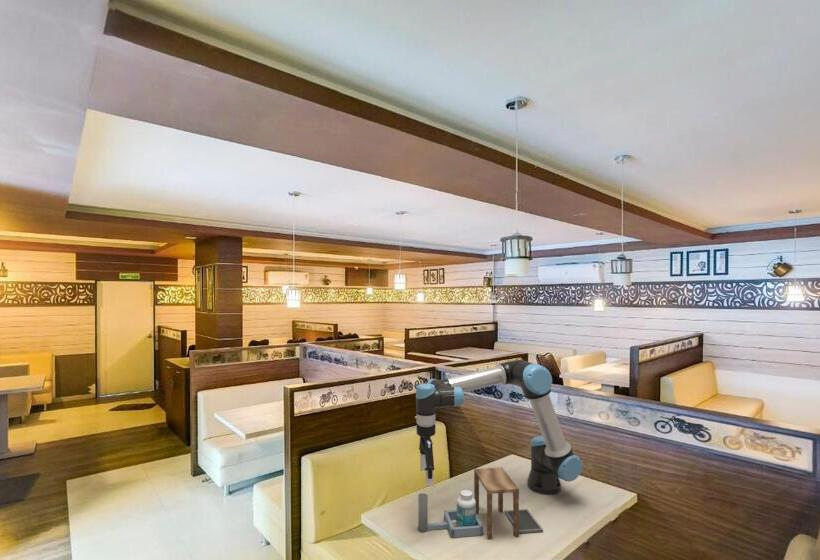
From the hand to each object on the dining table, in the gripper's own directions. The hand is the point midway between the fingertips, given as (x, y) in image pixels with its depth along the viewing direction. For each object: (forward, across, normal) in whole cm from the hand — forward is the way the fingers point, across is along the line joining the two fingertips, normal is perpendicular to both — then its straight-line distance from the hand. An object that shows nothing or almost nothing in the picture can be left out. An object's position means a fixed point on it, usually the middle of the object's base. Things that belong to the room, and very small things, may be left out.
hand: (426, 478), depth 165 cm
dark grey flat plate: (+20, +2, +39) cm, 44 cm away
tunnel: (+20, +2, +27) cm, 34 cm away
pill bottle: (+20, +2, +15) cm, 25 cm away
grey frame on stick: (+19, +2, +8) cm, 21 cm away
